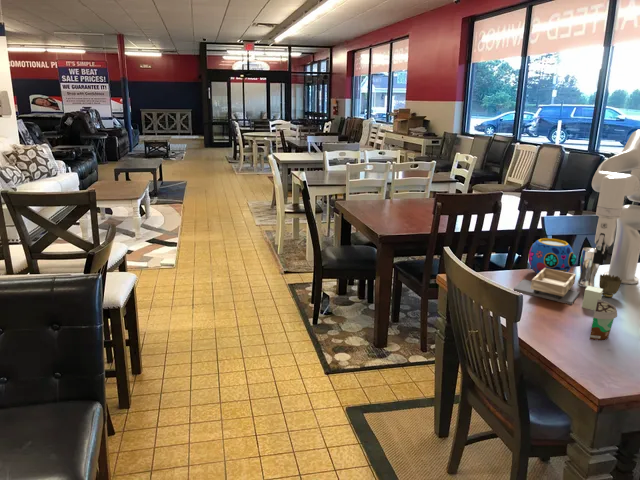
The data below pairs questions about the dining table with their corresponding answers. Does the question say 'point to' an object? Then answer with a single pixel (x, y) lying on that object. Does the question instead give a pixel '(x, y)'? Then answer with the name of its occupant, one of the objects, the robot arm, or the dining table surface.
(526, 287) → the dark gray flat slab
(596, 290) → the cream rectangular block
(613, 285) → the cup
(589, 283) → the beer glass
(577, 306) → the dining table surface
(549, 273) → the slatted wooden crate
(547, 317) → the dining table surface
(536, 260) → the ceramic pot
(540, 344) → the dining table surface
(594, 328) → the food container
